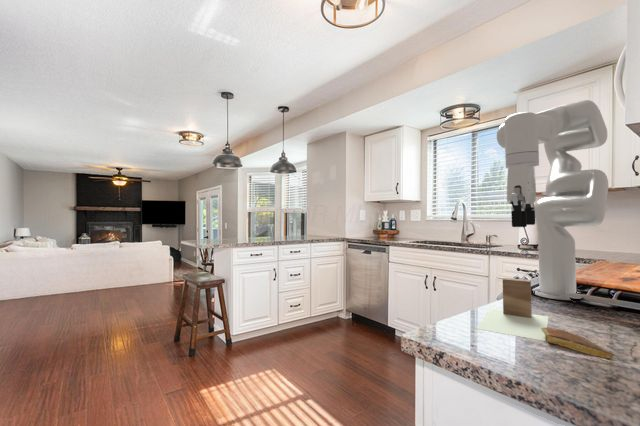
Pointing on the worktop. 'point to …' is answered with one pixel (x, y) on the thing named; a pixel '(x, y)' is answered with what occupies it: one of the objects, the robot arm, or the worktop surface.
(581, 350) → the shard
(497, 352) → the worktop surface
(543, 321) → the sage mat
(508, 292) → the walnut slab
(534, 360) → the worktop surface
